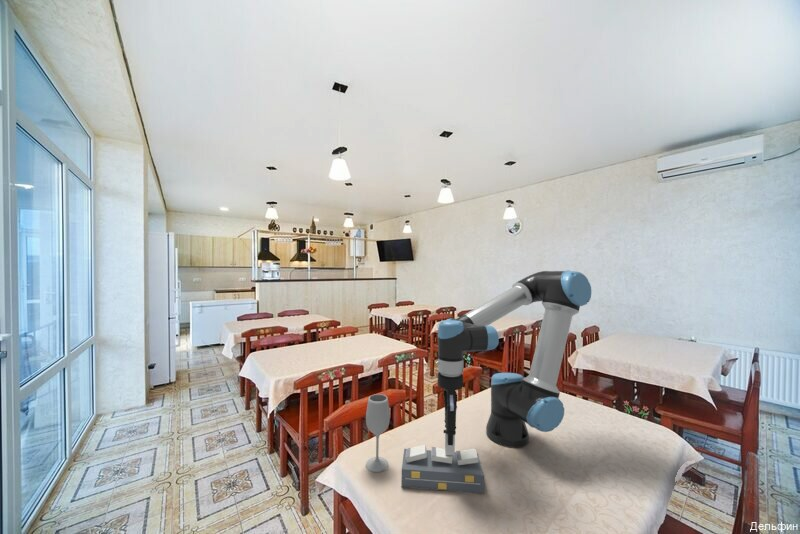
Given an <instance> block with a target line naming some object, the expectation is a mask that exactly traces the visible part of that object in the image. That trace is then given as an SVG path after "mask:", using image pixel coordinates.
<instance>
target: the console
mask: <svg viewBox="0 0 800 534" xmlns="http://www.w3.org/2000/svg"><path fill="white" fill-rule="evenodd" d="M407 449H408V448H403V454H402V455H403V457H402V465H401V483H400V484H401V488H409V489H424V490H436V491H449V492H460V493H472V494H474V493H475V494H485V474H484V470H483V466H482V463H481V460H480V456H479V453H477V456H478V460H479V462H477V463H471V464H464V465H458V462H457V456H456V451H455V455H452V463H445V462H438V461H431V449H430V450H429V449H427V458H423V459H420V460H416V461H412V462H408V463H407V461H406V451H407Z"/></svg>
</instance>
